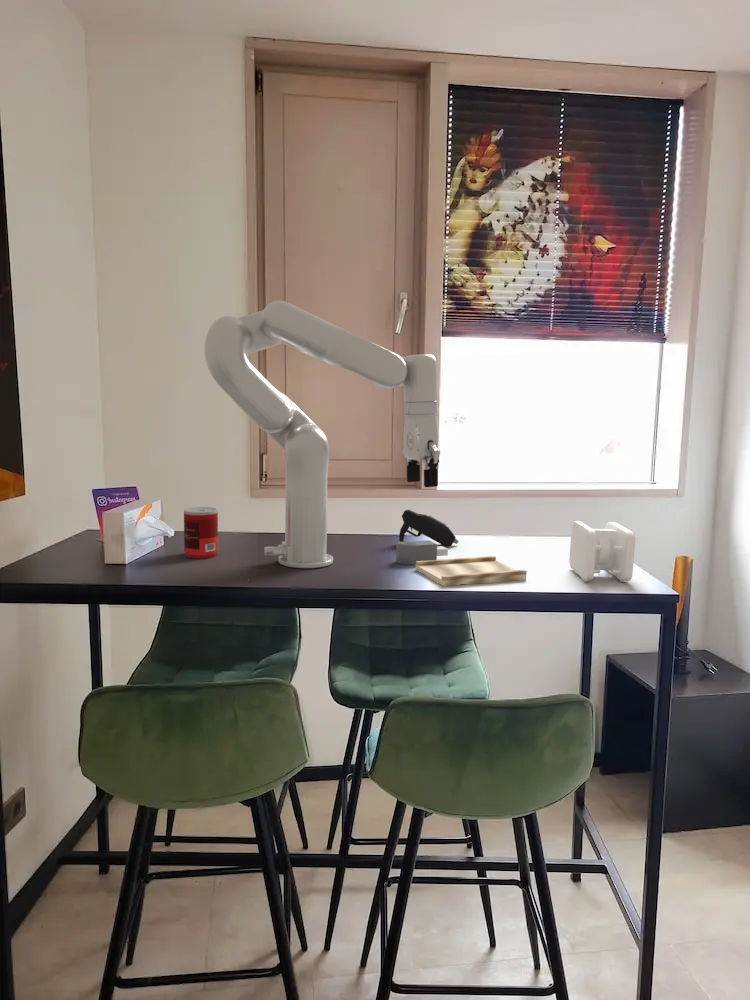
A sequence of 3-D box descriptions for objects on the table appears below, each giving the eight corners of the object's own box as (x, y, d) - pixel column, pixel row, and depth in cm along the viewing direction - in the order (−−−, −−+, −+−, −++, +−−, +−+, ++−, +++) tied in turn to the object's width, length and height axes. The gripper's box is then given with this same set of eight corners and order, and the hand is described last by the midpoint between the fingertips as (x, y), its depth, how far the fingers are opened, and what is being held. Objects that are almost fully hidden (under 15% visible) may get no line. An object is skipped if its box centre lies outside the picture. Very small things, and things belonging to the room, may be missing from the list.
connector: (400, 565, 164) (400, 546, 163) (392, 560, 168) (393, 542, 167) (448, 562, 168) (449, 543, 167) (440, 557, 172) (441, 539, 171)
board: (443, 586, 147) (443, 577, 147) (415, 569, 160) (415, 561, 159) (526, 579, 154) (526, 570, 154) (493, 564, 167) (493, 556, 167)
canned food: (220, 551, 172) (220, 507, 170) (214, 559, 164) (213, 512, 163) (188, 551, 172) (188, 506, 170) (180, 558, 164) (180, 512, 162)
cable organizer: (566, 567, 166) (570, 518, 165) (611, 568, 166) (615, 519, 165) (585, 584, 152) (589, 531, 150) (634, 586, 152) (639, 532, 150)
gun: (443, 567, 185) (463, 535, 184) (389, 538, 184) (408, 505, 183) (443, 565, 188) (462, 532, 187) (389, 536, 187) (408, 503, 186)
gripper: (391, 409, 168) (393, 481, 171) (421, 411, 152) (422, 490, 155) (420, 408, 171) (421, 478, 174) (452, 410, 155) (453, 487, 158)
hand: (422, 484), depth 164 cm, fingers open, 9 cm apart
